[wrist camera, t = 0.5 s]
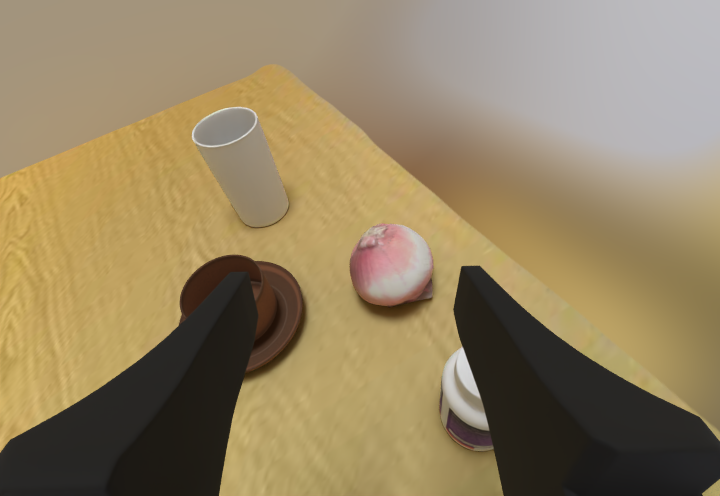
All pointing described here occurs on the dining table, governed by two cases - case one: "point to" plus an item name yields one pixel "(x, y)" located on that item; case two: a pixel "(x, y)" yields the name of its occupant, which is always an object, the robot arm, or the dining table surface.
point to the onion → (391, 266)
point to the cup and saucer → (272, 297)
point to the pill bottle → (463, 405)
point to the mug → (242, 164)
